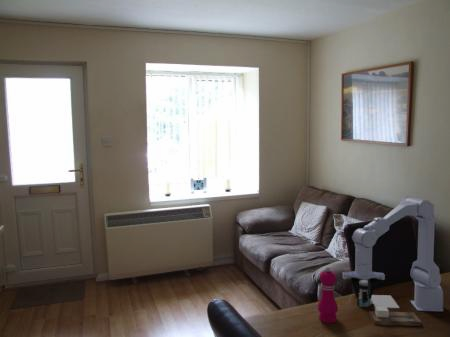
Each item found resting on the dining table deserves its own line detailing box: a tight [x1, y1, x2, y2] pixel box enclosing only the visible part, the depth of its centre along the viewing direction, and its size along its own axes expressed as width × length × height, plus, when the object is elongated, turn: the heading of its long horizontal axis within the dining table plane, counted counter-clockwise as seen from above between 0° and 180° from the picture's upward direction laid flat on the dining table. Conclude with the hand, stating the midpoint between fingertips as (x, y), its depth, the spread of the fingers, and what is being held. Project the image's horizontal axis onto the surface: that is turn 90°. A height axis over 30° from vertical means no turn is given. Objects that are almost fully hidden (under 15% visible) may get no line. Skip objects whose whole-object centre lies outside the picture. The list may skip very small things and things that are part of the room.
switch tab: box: [374, 306, 390, 317], centre depth 139 cm, size 4×3×2 cm
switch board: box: [368, 310, 422, 327], centre depth 139 cm, size 16×7×2 cm, turn 84°
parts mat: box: [370, 294, 400, 309], centre depth 153 cm, size 9×11×1 cm
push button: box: [356, 279, 373, 308], centre depth 150 cm, size 7×5×10 cm
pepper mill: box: [317, 266, 339, 324], centre depth 140 cm, size 7×7×20 cm
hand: (363, 297), depth 139 cm, fingers open, 4 cm apart
